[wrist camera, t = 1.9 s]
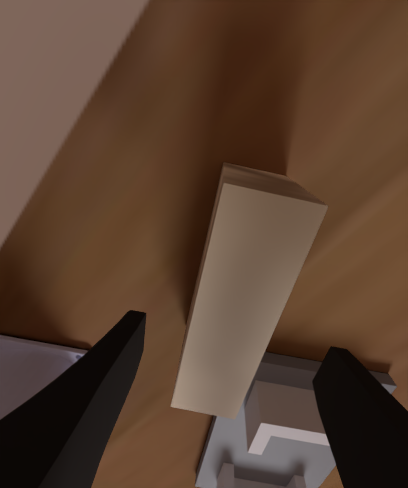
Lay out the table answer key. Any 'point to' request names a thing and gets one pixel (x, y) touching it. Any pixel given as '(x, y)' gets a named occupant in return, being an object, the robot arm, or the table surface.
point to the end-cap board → (272, 432)
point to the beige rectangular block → (242, 285)
